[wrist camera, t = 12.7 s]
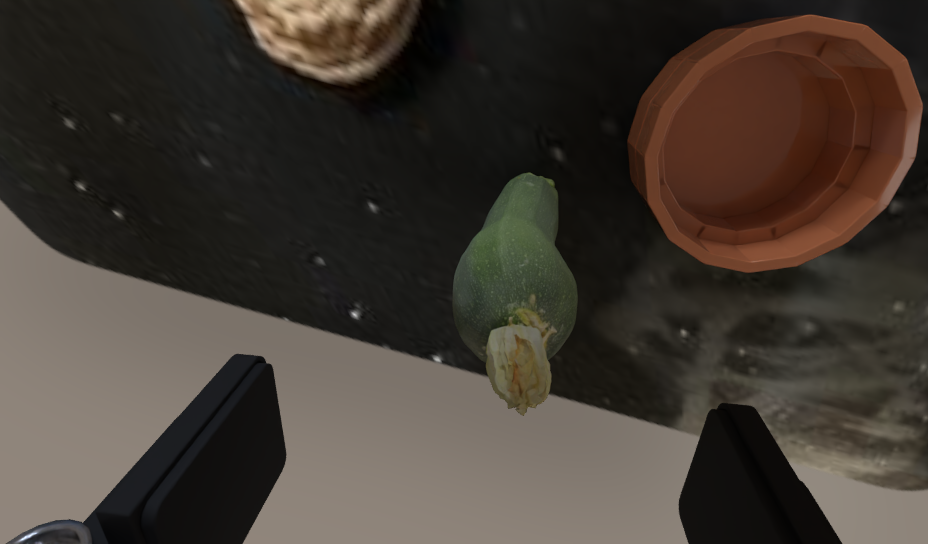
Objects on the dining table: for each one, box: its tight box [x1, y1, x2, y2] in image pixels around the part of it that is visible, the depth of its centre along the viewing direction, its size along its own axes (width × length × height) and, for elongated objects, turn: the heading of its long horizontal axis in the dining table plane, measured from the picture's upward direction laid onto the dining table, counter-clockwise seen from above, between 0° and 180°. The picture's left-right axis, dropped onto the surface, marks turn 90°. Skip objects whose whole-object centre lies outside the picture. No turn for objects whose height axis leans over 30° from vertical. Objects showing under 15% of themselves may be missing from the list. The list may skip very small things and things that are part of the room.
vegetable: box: [453, 173, 578, 416], centre depth 20 cm, size 4×4×20 cm
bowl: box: [627, 15, 923, 273], centre depth 24 cm, size 11×11×5 cm
